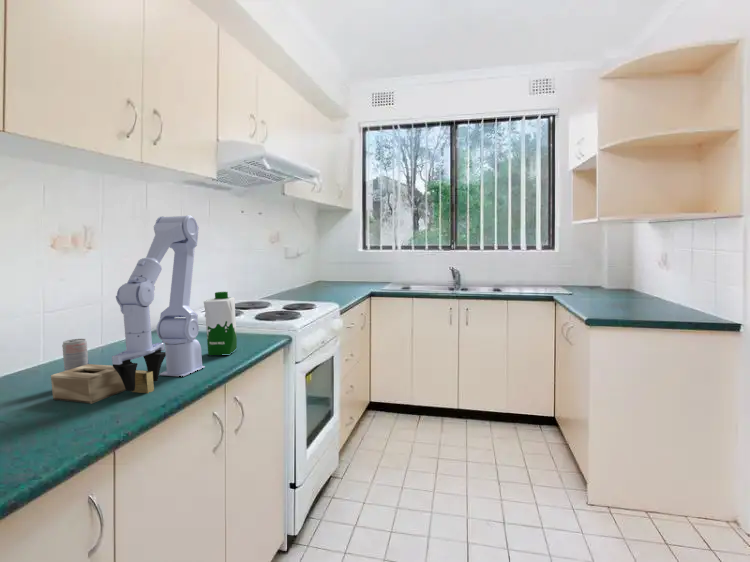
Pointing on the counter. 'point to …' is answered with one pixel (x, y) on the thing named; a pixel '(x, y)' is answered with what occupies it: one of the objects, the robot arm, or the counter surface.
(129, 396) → the counter surface
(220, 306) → the milk carton
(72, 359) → the energy drink
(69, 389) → the box
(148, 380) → the block
